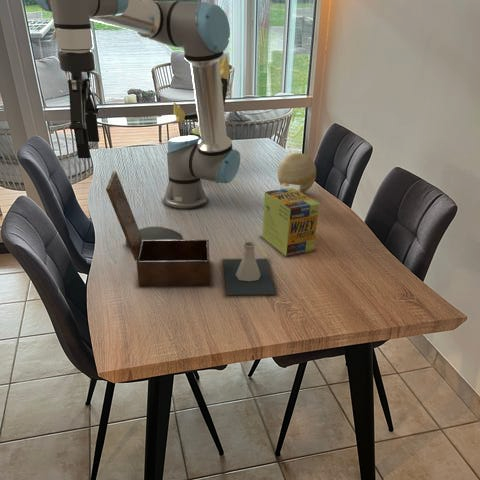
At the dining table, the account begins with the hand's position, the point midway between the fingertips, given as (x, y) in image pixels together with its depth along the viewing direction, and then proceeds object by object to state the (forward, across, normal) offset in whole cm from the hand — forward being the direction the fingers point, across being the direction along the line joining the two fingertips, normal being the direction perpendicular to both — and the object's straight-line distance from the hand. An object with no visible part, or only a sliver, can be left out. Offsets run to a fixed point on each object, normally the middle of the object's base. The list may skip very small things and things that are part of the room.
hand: (89, 149), depth 122 cm
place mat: (+35, +2, +40) cm, 53 cm away
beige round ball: (+35, -65, +64) cm, 98 cm away
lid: (+17, 0, +7) cm, 18 cm away
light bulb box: (+35, -39, +57) cm, 78 cm away
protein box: (+35, -19, +54) cm, 67 cm away
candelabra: (+35, -92, +31) cm, 103 cm away
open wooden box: (+35, 0, +19) cm, 40 cm away
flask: (+34, +2, +40) cm, 53 cm away
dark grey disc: (+35, -19, +12) cm, 42 cm away
